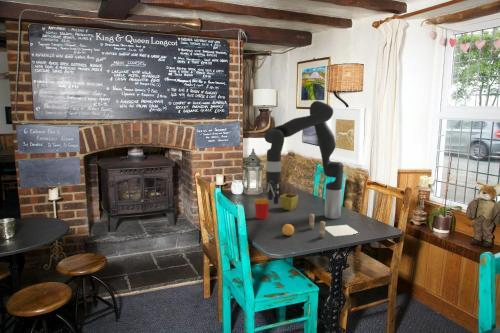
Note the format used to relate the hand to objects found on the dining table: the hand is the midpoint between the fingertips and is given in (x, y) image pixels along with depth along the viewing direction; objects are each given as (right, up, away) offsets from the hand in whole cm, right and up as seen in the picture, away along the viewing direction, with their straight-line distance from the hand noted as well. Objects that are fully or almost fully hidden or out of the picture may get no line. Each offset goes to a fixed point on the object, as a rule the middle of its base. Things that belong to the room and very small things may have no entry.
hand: (272, 201), depth 198 cm
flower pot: (+13, -10, +53) cm, 56 cm away
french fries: (-5, -13, +35) cm, 38 cm away
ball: (+8, -15, +6) cm, 18 cm away
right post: (+25, -18, +4) cm, 32 cm away
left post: (+22, -16, +17) cm, 32 cm away
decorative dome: (+14, -3, +92) cm, 93 cm away
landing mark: (+37, -17, +14) cm, 43 cm away
